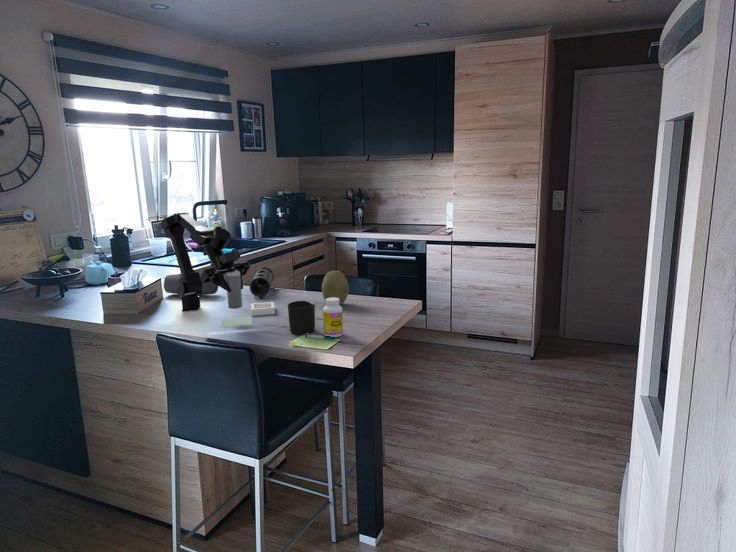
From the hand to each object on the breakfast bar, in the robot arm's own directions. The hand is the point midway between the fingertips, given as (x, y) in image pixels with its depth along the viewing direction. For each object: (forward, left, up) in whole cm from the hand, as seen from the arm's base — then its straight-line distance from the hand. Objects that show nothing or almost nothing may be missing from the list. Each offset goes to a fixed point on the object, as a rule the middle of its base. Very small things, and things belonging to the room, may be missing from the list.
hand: (236, 290), depth 185 cm
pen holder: (+22, -14, -14) cm, 30 cm away
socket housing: (+9, +12, -13) cm, 20 cm away
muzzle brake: (+10, +50, -14) cm, 53 cm away
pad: (-1, +1, -13) cm, 13 cm away
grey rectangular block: (-1, +1, -7) cm, 7 cm away
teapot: (-72, +95, -14) cm, 120 cm away
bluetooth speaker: (-22, +52, -14) cm, 58 cm away
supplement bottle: (+32, -21, -14) cm, 41 cm away
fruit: (+39, +17, -14) cm, 45 cm away
